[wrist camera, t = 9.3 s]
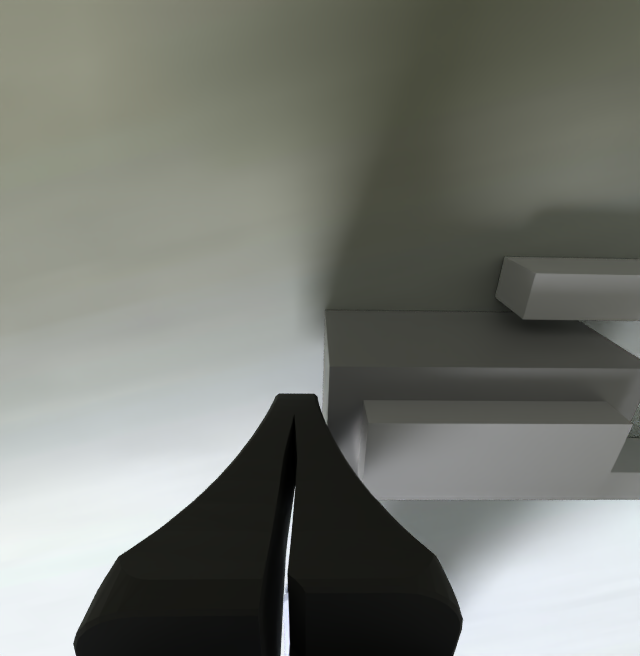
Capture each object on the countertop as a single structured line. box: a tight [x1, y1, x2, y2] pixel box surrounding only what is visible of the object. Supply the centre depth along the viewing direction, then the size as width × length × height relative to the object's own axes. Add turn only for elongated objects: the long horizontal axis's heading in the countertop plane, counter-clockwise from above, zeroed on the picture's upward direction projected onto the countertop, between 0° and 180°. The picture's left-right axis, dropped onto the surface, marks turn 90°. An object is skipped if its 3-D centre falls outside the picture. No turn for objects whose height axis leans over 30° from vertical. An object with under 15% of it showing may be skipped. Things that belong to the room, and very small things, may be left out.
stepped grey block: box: [322, 310, 640, 500], centre depth 13 cm, size 5×9×5 cm, turn 89°
